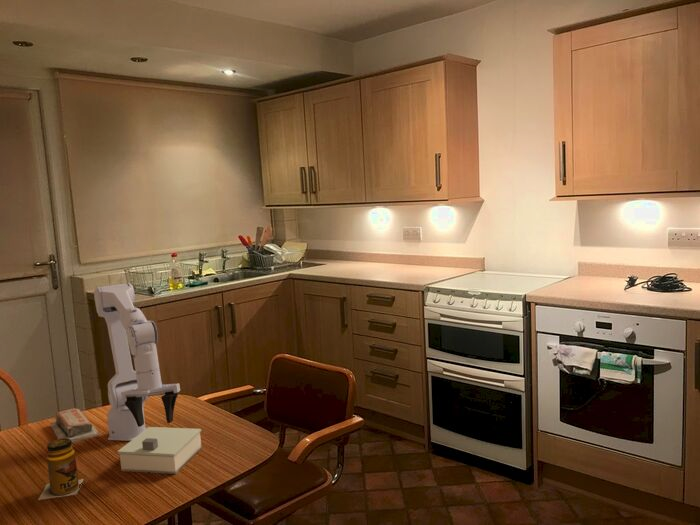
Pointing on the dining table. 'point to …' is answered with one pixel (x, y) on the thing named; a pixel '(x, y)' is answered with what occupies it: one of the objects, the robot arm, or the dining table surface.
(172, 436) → the lid
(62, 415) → the packaged product
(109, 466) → the dining table surface
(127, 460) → the carton
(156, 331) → the robot arm
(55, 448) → the condiment
